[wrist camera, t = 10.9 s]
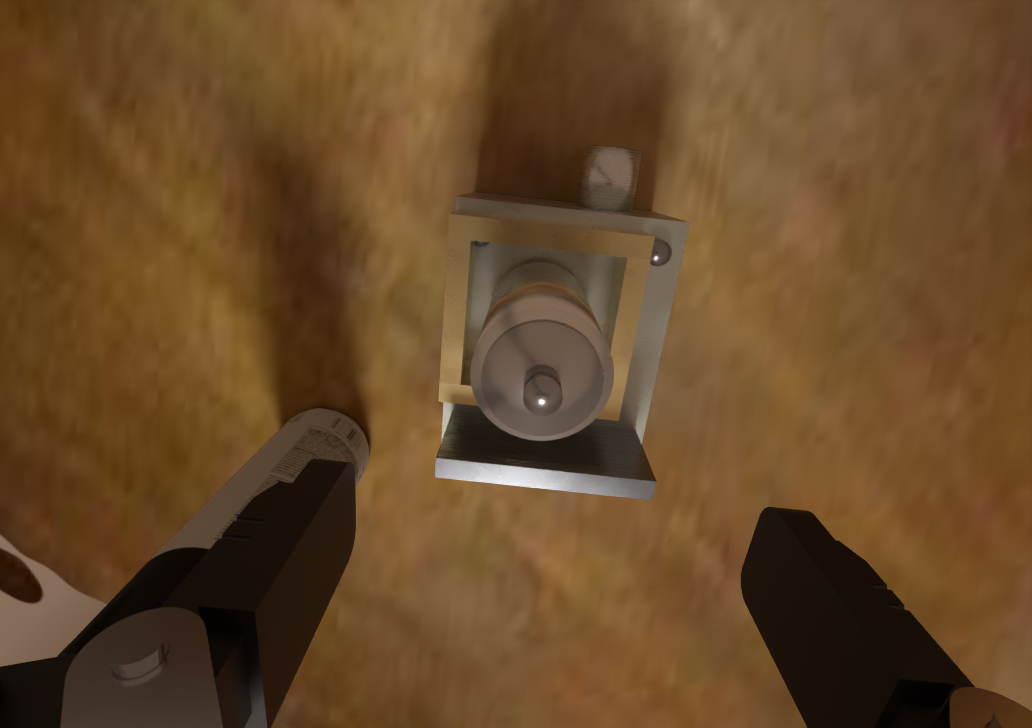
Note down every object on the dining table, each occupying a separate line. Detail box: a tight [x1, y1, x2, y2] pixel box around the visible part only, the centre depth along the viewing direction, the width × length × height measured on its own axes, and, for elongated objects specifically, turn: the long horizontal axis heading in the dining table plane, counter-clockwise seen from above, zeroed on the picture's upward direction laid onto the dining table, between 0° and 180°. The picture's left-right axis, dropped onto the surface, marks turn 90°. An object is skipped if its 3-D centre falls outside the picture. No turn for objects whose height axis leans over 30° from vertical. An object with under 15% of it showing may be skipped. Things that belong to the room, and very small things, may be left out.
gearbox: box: [435, 146, 690, 500], centre depth 27 cm, size 17×11×13 cm, turn 174°
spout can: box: [470, 262, 614, 441], centre depth 20 cm, size 5×5×11 cm
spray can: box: [58, 408, 369, 657], centre depth 28 cm, size 7×7×20 cm
